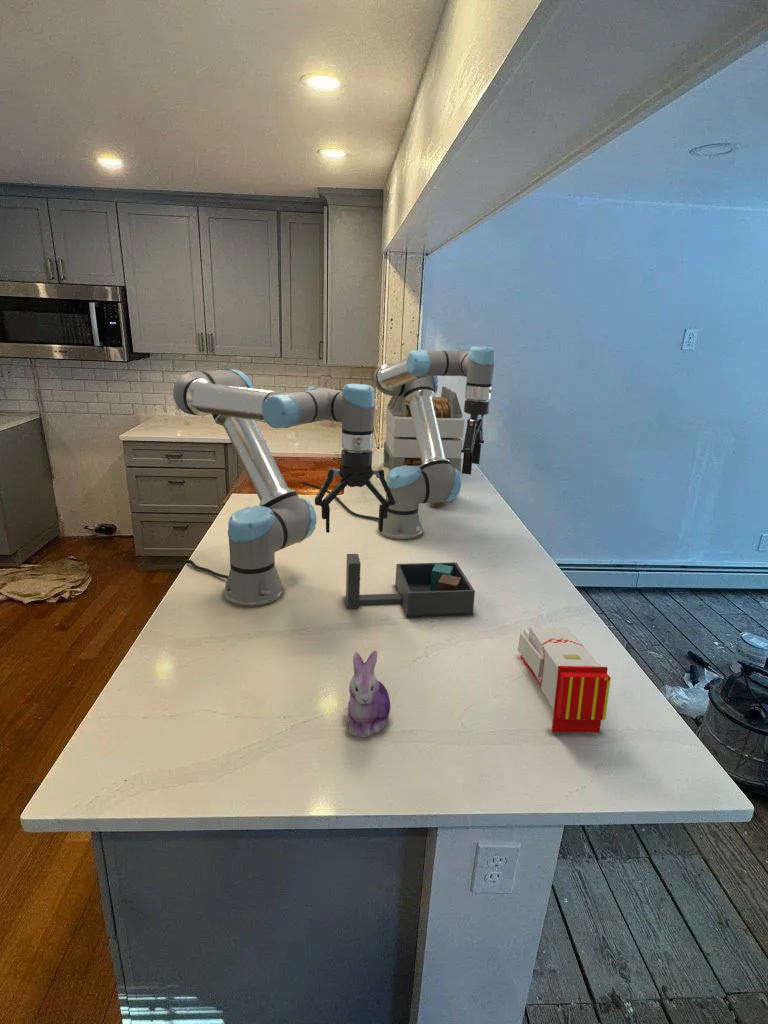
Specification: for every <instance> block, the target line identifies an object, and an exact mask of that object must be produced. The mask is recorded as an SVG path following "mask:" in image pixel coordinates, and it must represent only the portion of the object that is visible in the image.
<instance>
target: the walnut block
mask: <svg viewBox="0 0 768 1024" xmlns="http://www.w3.org/2000/svg"><path fill="white" fill-rule="evenodd" d="M460 581H461V578H460V577H455V576H450V575H444V574H443V575H442V576H441V578H440V580H439V581H438V590H437V591H453V590H460Z"/></svg>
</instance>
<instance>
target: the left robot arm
mask: <svg viewBox="0 0 768 1024" xmlns="http://www.w3.org/2000/svg"><path fill="white" fill-rule="evenodd" d="M172 397H173V401H174V403H175V405H176V406H177V408H178V409H179V410H181V411H182V412H183V413H185V414H188V415H190V416H199V417H206V416H208V415H210V414H211V416H212V418H213V420H214V422H215V424H217V425H219V426H222V427H223V428H224V430H225V432H226V433H227V436H228V438H229V440H230V442H231V444H232V446H233V448H234V450H235V453H236V454H237V456H238V459H239V460H240V462H241V464H242V466H243V468H244V470H245V473H246V475H247V477H248V479H249V480H250V483H251V484H252V487H253V489H254V492H255V494H256V495H257V497H258V499H259V504H258V505H254V506H252V507H251V506H246V507H243V508H241V509H238V510H237V511H235V512H234V513H232V514H231V515H230V517H229V519H228V527H227V537H228V547H229V548H228V549H229V567H230V568H229V573H228V575H227V574H223V573H220V572H219V573H218V572H217V571H213V570H212V569H209V568H207V567H202V566H199V565H197V564H196V563H195V562H194V561H193V560H192V559H187V560H186V561H185V564H187V563H188V564H190V565H191V566H192V567H193V568H194V569H196V570H199V571H203V572H207V573H209V574H211V575H213V576H216V577H219V578H222V579H226V582H225V585H224V599H225V600H226V601H228V603H231V604H233V605H236V606H239V607H248V608H249V607H250V608H251V607H261V606H265V605H269V604H271V603H273V602H275V601H277V600H278V599H280V597H282V595H283V585H282V581H281V578H280V576H279V573H278V571H277V568H276V562H275V561H276V557H275V555H276V554H275V553H277V552H279V551H280V550H283V549H286V548H287V547H290V546H292V545H295V544H300V543H302V542H303V541H304V540H306V539H308V538H310V537H311V536H312V535H313V534H314V532H315V530H316V525H317V513H316V510H315V508H314V506H313V504H312V503H311V502H310V501H309V500H307V499H306V498H303V497H302V498H301V497H299V495H298V493H297V491H296V490H295V489H293V488H290V487H288V484H287V482H286V481H285V479H284V476H283V474H282V473H281V471H280V468H279V467H278V464H277V462H276V459H274V456H273V454H272V453H271V450H270V448H269V446H268V444H267V442H266V440H265V438H264V436H263V434H262V432H261V430H260V428H259V426H258V424H257V422H260V423H261V422H262V423H266V424H267V425H268V426H269V427H271V428H272V429H288V428H292V427H295V426H301V425H305V424H311V423H316V422H320V421H321V422H322V421H332V422H337V423H341V448H342V449H341V455H340V464H341V465H340V468H333V467H332V466H330V467H328V469H327V475H326V477H325V479H324V481H323V482H322V485H321V486H320V487H321V488H320V489H318V491H317V494H316V496H315V498H314V505H315V506H319V507H321V519H322V520H325V532H326V533H328V534H329V533H330V519H331V517H330V515H331V513H330V512H331V508H330V507H331V506H330V504H331V503H332V501H334V500H335V497H336V496H337V497H338V495H339V494H340V493H341V492H342V491H343V490H344V489H345V488H347V487H349V488H355V487H356V488H363V487H365V486H366V488H367V489H368V490H369V491H370V492H371V493H372V494H373V495H374V497H375V498H376V499H377V500H378V501H379V502H380V504H379V506H378V507H379V508H378V518H379V520H378V523H377V524H378V527H377V529H378V532H379V531H380V532H383V519H387V516H388V508H389V506H390V505H395V503H396V502H395V500H394V498H393V496H392V493H391V491H390V489H389V487H388V485H387V483H386V481H387V479H386V478H385V477H386V475H385V471H384V469H383V467H381V466H379V467H378V468H375V469H374V468H373V467H372V465H373V451H372V449H373V445H374V444H373V443H374V442H373V439H374V417H375V408H376V402H375V389H374V387H373V386H372V385H370V384H364V383H347V384H344V386H343V388H342V390H338V389H333V388H326V387H324V386H309V387H307V388H306V390H303V391H295V392H284V391H276V390H269V389H268V390H267V389H260V388H254V385H253V382H252V381H251V379H250V378H249V377H248V376H247V374H245V373H244V372H242V371H241V370H238V369H234V368H233V369H231V368H221V369H215V370H199V371H198V370H195V371H190V372H187V373H184V374H183V375H181V376H180V377H179V378H178V379H177V380H176V382H175V383H174V385H173V389H172ZM338 475H339V476H340V478H341V479H340V480H338V482H337V484H336V485H335V486H334V487H333V488H332V490H330V493H327V492H326V491H327V490H328V489H329V487H331V486H330V485H331V484H332V482H333V481H334V479H335V478H337V476H338ZM373 476H375V477H376V478H377V479H379V481H380V483H381V486H382V488H383V491H384V492H385V495H386V494H387V496H388V498H389V499H388V500H386V497H384V496H383V495H382V493H381V491H379V490H378V489H377V488H376V486H375V485H374V483H372V481H371V479H372V477H373ZM325 495H326V496H325ZM380 532H379V533H380Z"/></svg>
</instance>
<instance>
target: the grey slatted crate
mask: <svg viewBox="0 0 768 1024" xmlns="http://www.w3.org/2000/svg"><path fill="white" fill-rule="evenodd" d="M440 393H441V394H440V396H435V397H434V398H433V400H432V403H433V407H434V411H435V416H436V420H437V425H438V429H439V433H440V438H441V442H442V446H443V451H444V455H445V458H446V459H447V460H449V461H450V462H451V466H452V468H456V469H457V470H458V471H459V472H460V475H461V474H462V463H463V457H462V453H461V450H462V449H463V444H464V440H462V439H463V438H464V431H465V430H464V429H465V419H464V418H463V411H462V408H461V405H460V402H459V398H458V395H457V392H455V391H453V390H452V389H451V388H447V386H442V387H441V392H440ZM385 414H386V415H385V423H386V428H385V438H384V442H383V466H384V467H388V468H389V471H390V470H391V469H393V468H396V467H400V466H416V467H420V466H421V464H422V462H421V457H420V453H419V448H418V443H417V439H416V434H415V430H414V425H413V420H412V416H411V411H410V407H409V405H407V404H405V402H404V398H403V396H391V398H390V400H389V402H388V404H387V405H386V413H385Z"/></svg>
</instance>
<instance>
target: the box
mask: <svg viewBox="0 0 768 1024" xmlns="http://www.w3.org/2000/svg"><path fill="white" fill-rule="evenodd" d="M435 564H442V565H448V566H453V575H452V576H455V577H460V578H461V581H460V590H453V591H430V586H431V574H432V569H433V568H434V566H435ZM395 566H396V567H395V585H394V586H395V590H396V591H397V593H375V594H374V593H372V594H371V593H369V594H360V593H361V592H360V591H361V590H360V589H361V560H360V556H359V553H346V566H345V567H346V570H345V571H346V572H345V601H346V607H347V609H359V608H360V606H370V605H371V606H372V605H373V606H374V605H400V604H401V606H402V608H403V610H404V614H405V616H406V618H426V617H427V618H428V617H449V616H450V617H452V616H473V613H474V603H475V593H476V592H475V591H476V590H475V589H474V588H473V586H472V583H470V581H469V579H468V578H467V576H466V575H465V573H464V572H463V570H462V568H461V567H460V565H459V564H458V562H457V561H455V562H454V561H453V562H452V561H451V562H417V563H415V562H413V563H396V564H395Z"/></svg>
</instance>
